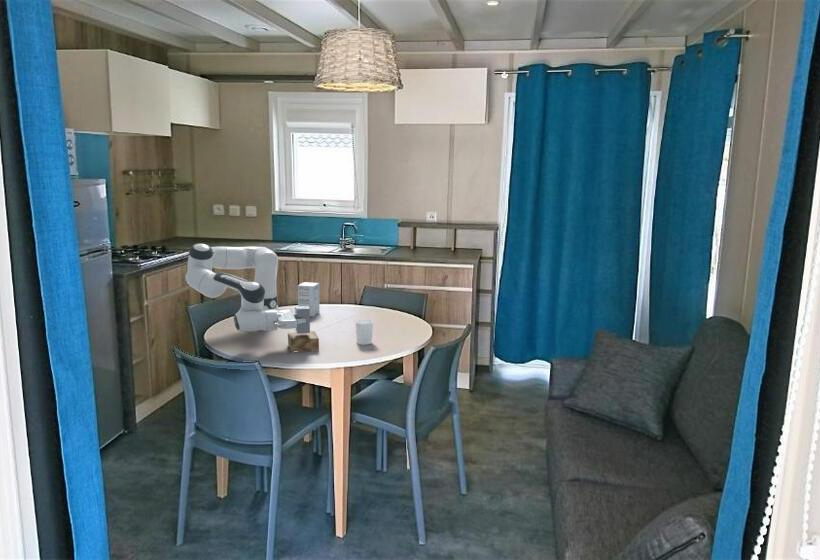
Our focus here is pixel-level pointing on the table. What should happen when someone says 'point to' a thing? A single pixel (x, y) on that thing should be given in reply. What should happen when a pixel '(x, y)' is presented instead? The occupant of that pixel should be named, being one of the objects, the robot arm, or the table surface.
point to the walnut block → (303, 341)
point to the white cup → (364, 332)
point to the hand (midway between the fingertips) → (304, 318)
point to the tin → (302, 313)
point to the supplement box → (309, 296)
